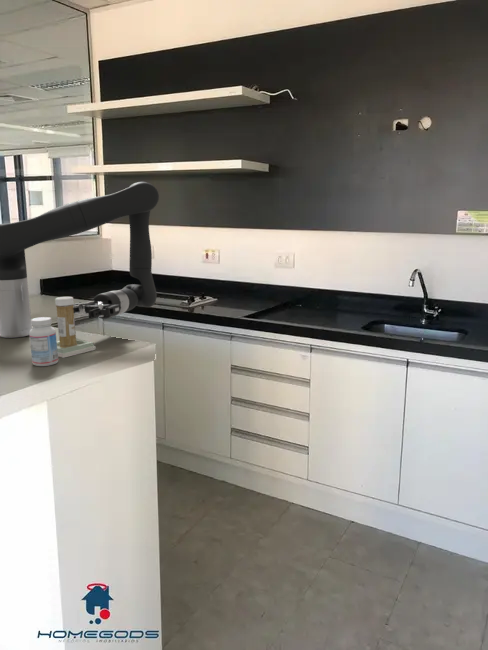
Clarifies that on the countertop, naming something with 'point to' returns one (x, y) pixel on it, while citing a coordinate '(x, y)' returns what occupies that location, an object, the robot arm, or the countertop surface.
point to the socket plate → (75, 348)
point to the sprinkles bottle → (66, 321)
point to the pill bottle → (43, 342)
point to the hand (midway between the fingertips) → (76, 314)
